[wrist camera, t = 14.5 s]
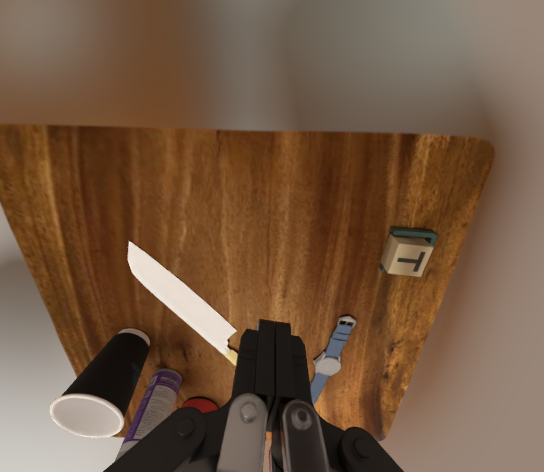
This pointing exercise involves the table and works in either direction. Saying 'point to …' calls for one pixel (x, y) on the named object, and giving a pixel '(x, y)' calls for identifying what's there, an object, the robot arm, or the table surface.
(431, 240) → the frame
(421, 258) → the letter tile
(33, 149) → the table surface
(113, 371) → the dixie cup
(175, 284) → the knife
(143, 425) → the container
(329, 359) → the wristwatch
